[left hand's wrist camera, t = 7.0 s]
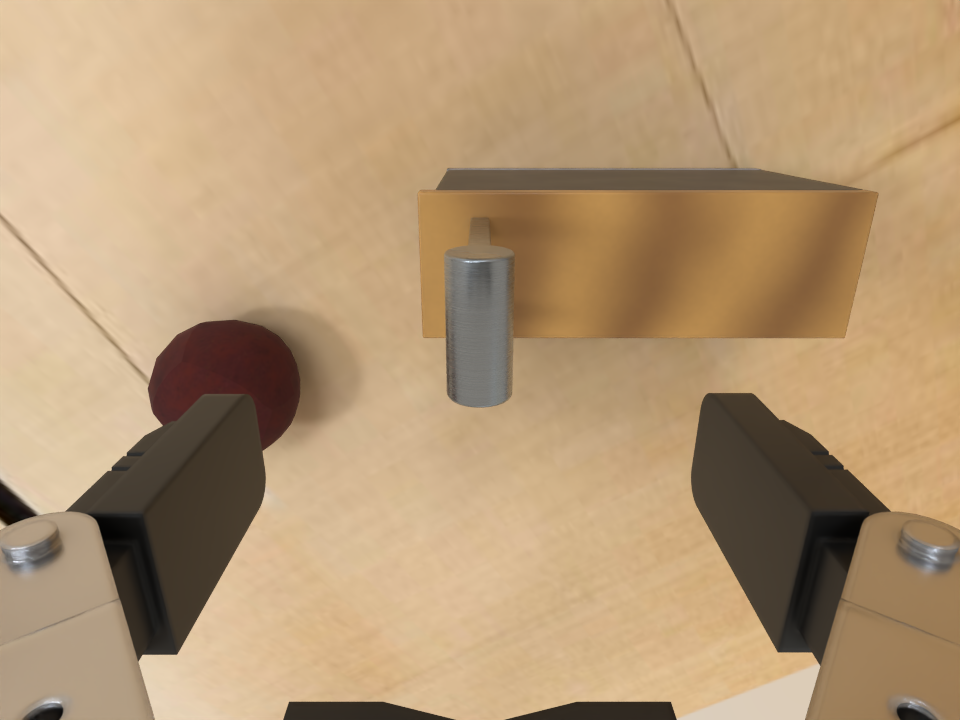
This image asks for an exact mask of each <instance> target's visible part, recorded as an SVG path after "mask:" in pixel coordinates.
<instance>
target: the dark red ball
mask: <svg viewBox="0 0 960 720" xmlns="http://www.w3.org/2000/svg"><path fill="white" fill-rule="evenodd" d="M148 392H149V397H150V403H151V408H152V411H153V414H154V415H155V416H156V418H157V419H158V420H159V421H160V422H161V424H162V425H163V426H164V425H166V424H168V423H170V422H171V421H177V420H178V419H179V418H180V417H181V416H182V415H183V414H184V413H185V412H186V411H187V410H188V409H189V408H190V407H191V406H192V405H193V404H194V403H195V402H196V401H197V400H198V399H199V398H200V397H201V396H202V395H204V394H248V395H250V396H251V397H252V399H253V401H254V404H255V408H256V414H257V420H258V427H259V433H260V440H261V447H262V451H263V450H264V449H266V448H267V447H269V446H270V445H271V444H273V443H274V442H275V441H276V440H277V439H278V438H280V437H281V436H282V434H283V433H284V432H285V431H286V429H287V428H288V427H289V426H290V424H291V423H292V420H293V418H294V416H295V413H296V409H297V406H298V403H299V398H300V377H299V373H298V368H297V364H296V362H295V360H294V357H293V355H292V353H291V351H290V349H289V348H288V347H287V346H286V344H285V343H284V342H283V341H282V339H281V338H280V337H279V336H277V335H276V334H274V333H272V332H271V331H269V330H268V329H266V328H264V327H263V326H259V325H255V324H251V323H247V322H242V321H238V320H226V321H211V322H204V323H200V324H198V325H196V326H194V327H192V328H190V329H188V330H186V331H184V332H182V333H180V334H178V335H177V336H176V337H175V338H174V339H173V340H172V341H171V343H170V344H169V345H168V346H167V347H166V348H165V349H164V351H163V352H162V353H161V354H160V355H159V356H158V357H157V359H156V362H155V366H154V369H153V373H152V376H151V380H150V383H149V386H148Z"/></svg>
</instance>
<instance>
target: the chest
mask: <svg viewBox="0 0 960 720" xmlns="http://www.w3.org/2000/svg"><path fill="white" fill-rule="evenodd" d="M436 190H862V189H857V188H852V187H846V186H841V185H836V184H831V183H826V182H821V181H815V180H810V179H805V178H800V177H795V176H789V175H784V174H779V173H774V172H769V171H763V170H761V169H756V168H448V169H447V172H446V174H445V175H444V177H443V179H442V180H441V182H440V184H439V185H438V187H437V188H436Z"/></svg>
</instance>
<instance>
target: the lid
mask: <svg viewBox="0 0 960 720" xmlns="http://www.w3.org/2000/svg"><path fill="white" fill-rule="evenodd" d="M877 198H878V193H877V192H873V191H868V190H420V191H419V192H418V217H419V244H420V272H421V299H422V326H423V337H424V338H446V369H447V394H448V397H449V398H450V399H451V400H452V401H453V402H455V403H457V404H460V405H463V406H468V407H491V406H496V405H499V404H502V403H504V402H506V401H507V400H508V399H509V398H510V397H511V395H512V374H513V338H844V337H845V334H846V330H847V326H848V322H849V317H850V313H851V309H852V305H853V300H854V296H855V292H856V288H857V283H858V279H859V275H860V271H861V266H862V262H863V258H864V254H865V249H866V245H867V241H868V237H869V232H870V228H871V224H872V220H873V215H874V211H875V207H876V203H877Z"/></svg>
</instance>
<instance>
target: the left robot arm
mask: <svg viewBox="0 0 960 720" xmlns="http://www.w3.org/2000/svg"><path fill="white" fill-rule="evenodd" d="M265 483H266V476H265V466H264V460H263V453H262V447H261V440H260V433H259V427H258V420H257V414H256V408H255V404H254V401H253V399H252V397H251V396H250V395H248V394H204V395H202V396H201V397H200V398H199V399H198V400H197V401H196V402H195V403H194V404H193V405H192V406H191V407H190V408H189V409H188V410H187V411H186V412H185V413H184V414H183V415H182V416H181V417H180V418H179V419H178V420H177V421H171V422H170V423H168V424H166V425H164V426H162V427H160V428H158V429H157V430H155V431H153V432H151V433H149V434H147V435H145V436H144V437H143V438H142V439H141V440H140V441H139V442H138V443H137V444H136V445H135V446H134V447H132V448H131V449H130V450H129V451H128V452H127V456H123V457H122V458H121V459H120V460H119V461H118V462H117V463H116V464H115V465H114V466H113V467H112V471H107V472H106V473H105V474H104V475H103V476H102V477H101V478H100V479H99V480H98V481H97V482H96V483H95V484H94V485H93V486H92V487H91V488H90V489H88V490H87V491H86V492H85V493H84V494H83V495H82V496H81V497H80V498H79V499H78V500H77V501H76V502H75V503H74V504H73V505H72V506H71V507H70V508H69V509H67V510H66V511H65V512H56V513H49V514H44V515H39V516H35V517H32V518H28V519H25V520H22V521H20V522H17V523H15V524H12V525H10V526H7V527H5V528H3V529H1V530H0V720H155V718H154V715H153V711H152V708H151V704H150V701H149V697H148V694H147V691H146V687H145V684H144V680H143V677H142V673H141V670H140V666H139V663H138V661H139V660H140V658H141V656H142V655H177V654H178V652H179V650H180V649H181V647H182V645H183V643H184V641H185V640H186V638H187V636H188V634H189V633H190V631H191V629H192V627H193V625H194V624H195V622H196V620H197V618H198V617H199V615H200V613H201V611H202V609H203V608H204V606H205V604H206V602H207V601H208V599H209V597H210V595H211V593H212V592H213V590H214V588H215V586H216V585H217V583H218V581H219V579H220V577H221V576H222V574H223V572H224V570H225V569H226V567H227V565H228V563H229V561H230V560H231V558H232V556H233V554H234V553H235V551H236V549H237V547H238V545H239V544H240V542H241V540H242V538H243V537H244V535H245V533H246V531H247V529H248V528H249V526H250V524H251V522H252V521H253V519H254V517H255V515H256V513H257V512H258V510H259V508H260V506H261V504H262V501H263V497H264V492H265ZM691 485H692V492H693V497H694V500H695V503H696V506H697V508H698V509H699V511H700V513H701V515H702V517H703V518H704V520H705V522H706V524H707V526H708V527H709V529H710V531H711V533H712V535H713V536H714V538H715V540H716V542H717V544H718V545H719V547H720V549H721V551H722V553H723V554H724V556H725V558H726V560H727V562H728V563H729V565H730V567H731V569H732V571H733V572H734V574H735V576H736V578H737V580H738V581H739V583H740V585H741V587H742V589H743V590H744V592H745V594H746V596H747V598H748V599H749V601H750V603H751V605H752V607H753V608H754V610H755V612H756V614H757V616H758V617H759V619H760V621H761V623H762V625H763V626H764V628H765V630H766V632H767V634H768V635H769V637H770V639H771V641H772V643H773V644H774V646H775V648H776V650H777V652H812V653H813V655H814V656H815V658H816V659H817V661H818V663H819V664H820V670H819V673H818V677H817V680H816V684H815V687H814V691H813V694H812V697H811V701H810V704H809V708H808V711H807V715H806V718H805V720H960V530H959V529H957V528H955V527H953V526H950V525H948V524H945V523H943V522H940V521H938V520H935V519H932V518H928V517H925V516H921V515H916V514H911V513H904V512H891V511H890V510H889V509H888V508H887V507H886V506H885V505H884V504H883V503H882V502H880V501H879V500H878V499H877V498H876V497H875V496H874V495H873V494H872V493H871V492H870V491H869V490H868V489H867V488H866V487H865V486H864V485H863V484H862V483H861V482H860V481H859V480H858V479H857V478H856V477H855V476H853V475H852V474H851V473H850V472H849V471H848V470H844V468H843V465H842V464H841V463H840V462H839V461H838V460H837V459H836V458H835V457H834V456H833V455H829V451H828V450H826V449H825V448H824V447H823V446H822V445H821V444H820V443H819V442H818V441H817V440H816V439H815V438H814V437H813V436H812V435H811V434H809V433H807V432H805V431H803V430H801V429H800V428H798V427H796V426H794V425H792V424H790V423H788V422H786V421H785V420H779V419H778V418H777V417H776V416H775V415H774V414H773V413H772V412H771V411H770V410H769V409H768V408H767V407H766V406H765V405H764V404H763V403H762V402H761V401H760V400H759V399H758V398H757V397H756V396H755V395H754V394H752V393H708V394H707V395H706V396H705V397H704V399H703V401H702V405H701V410H700V417H699V423H698V430H697V437H696V444H695V450H694V457H693V464H692V471H691ZM283 720H454V719H450V718H446V717H442V716H438V715H434V714H430V713H426V712H422V711H418V710H414V709H410V708H406V707H402V706H398V705H394V704H390V703H386V702H289V704H288V707H287V710H286V713H285V716H284V719H283ZM506 720H677V719H676V716H675V713H674V710H673V707H672V704H671V702H574V703H570V704H566V705H562V706H558V707H554V708H550V709H546V710H542V711H538V712H534V713H530V714H526V715H522V716H518V717H514V718H510V719H506Z"/></svg>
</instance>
